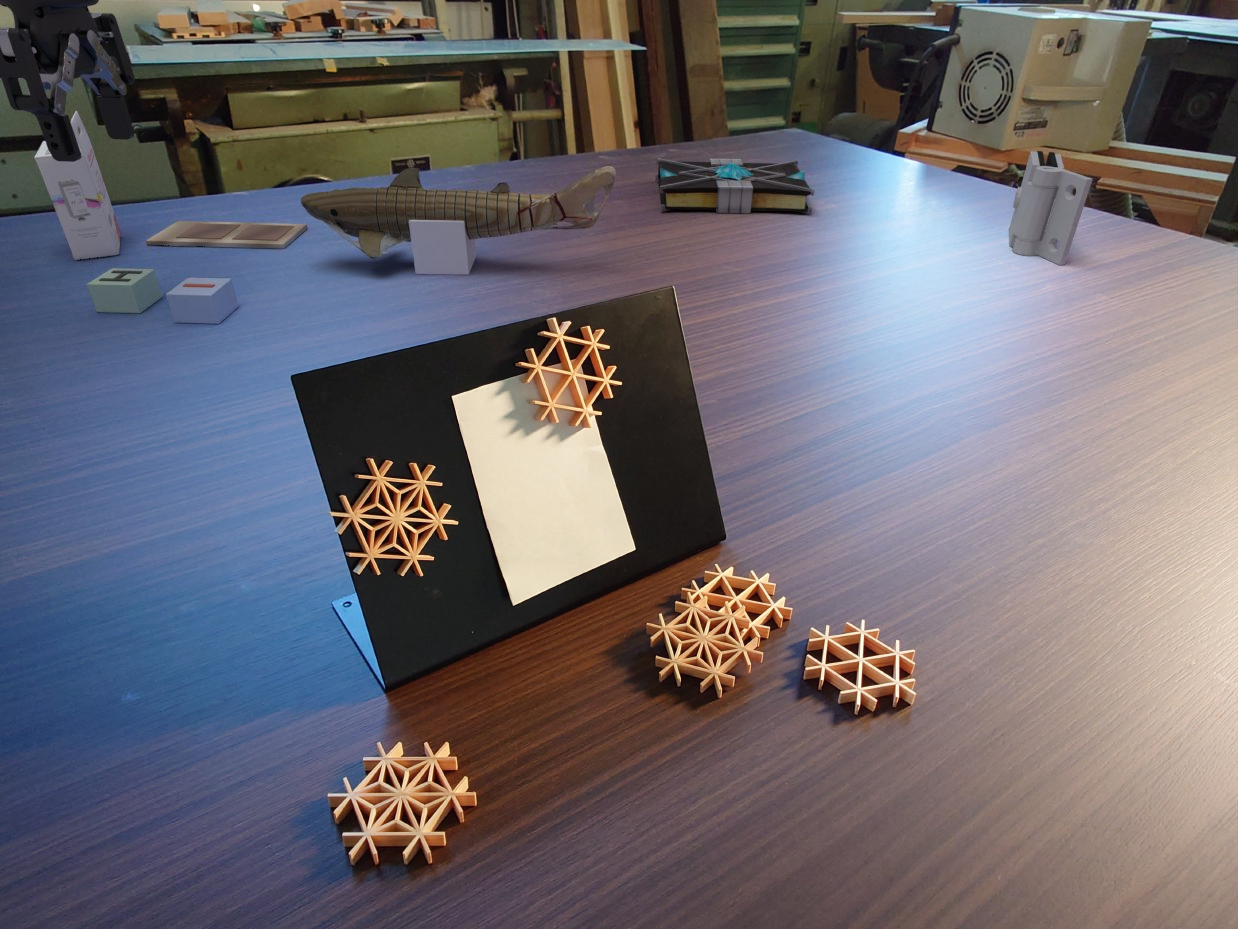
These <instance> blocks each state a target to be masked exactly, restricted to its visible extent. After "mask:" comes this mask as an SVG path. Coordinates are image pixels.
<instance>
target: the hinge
mask: <svg viewBox="0 0 1238 929" xmlns="http://www.w3.org/2000/svg"><path fill="white" fill-rule="evenodd" d="M1093 180H1094V179H1093V178H1091V177H1089V176H1085V175H1083V174H1079V173H1077V172H1074V171H1071V170H1067V169H1065V166H1064V162H1063V159H1062V155H1061V153H1055V152H1054V151H1049V152H1048V155H1047V157H1046V161H1045V155H1044V151H1043V150H1037V151H1030V153H1029V156H1028V160H1027V163H1026V167H1025V171H1024V174H1023V178H1022V181H1021V185H1020V186H1018V187H1017V189H1016V191H1015V195H1014V199H1013V204H1012V208H1013V209H1014V210H1013V213H1012V216H1011V220H1010V224H1009V227H1008V242H1009V245H1008V246H1009V248H1012V252H1013V253H1014V254H1017V255H1019V256H1028V257H1031V256H1038V257H1041V258H1043V259H1045V260H1048V261H1049V262H1052V263H1054V264H1056V265H1058V266H1065V265H1066V262H1067V259H1068V256H1069V254H1070V250H1071V247H1072V244H1073V241H1074V237H1075V236H1076V232H1077V228H1078V225H1079V223H1080V219H1081V216H1082V213H1083V210H1084V207H1085V205H1086V201H1087V198H1088V195H1089V193H1090V192H1089V191H1090V189H1091V186H1092V183H1093ZM1074 190H1075V193H1074V194H1073V192H1074ZM1057 243H1059V245H1058V247H1057Z"/></svg>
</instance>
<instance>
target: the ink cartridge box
mask: <svg viewBox="0 0 1238 929" xmlns="http://www.w3.org/2000/svg"><path fill="white" fill-rule="evenodd" d="M70 122H71V125H72V128H73V131H74V134H75V137H76V140H77V143H78V146H79V149H80V152H81V159H79V160H77V161H75V162H65V161H56V160H55V159H54V158H53V157H52V155H51V153H50V152H49V150H48V148H47V145H46V142H45V140H43V141H42V142H41V144H40V146H39V148H38V149H37V152H36V154H35V155H34V161H35V163H36V164H37V167H38V169H39V170H38V171H39V172H40V176H41V177H42V180H43V182H44V185H45V188H46V190H47V193H48V195H49V199H50V200H51V203H52V206H53V208H54V210H55V213H56V215H57V219H58V221H59V223H60V226H61V229H62V231H63V234H64V237H65V239H66V241H67V245H68V246H69V249H70V252H71V254H72V258H73V260H74V261H79V260H80V259H81V260H88V259H89V258H90V259H97V257H98V258H104V257H105V258H106V257H112V256H113V257H114V256H119V255H120V249H121V238H122V236H121V234H122V233H121V229H120V226H119V223H118V221H117V218H116V214H115V212H114V209H113V206H112V203H111V202H112V201H111V199H110V196H109V194H108V190H107V187H106V185H105V182H104V181H105V180H104V179H103V178H104V177H103V176H102V172H101V169H100V166H99V163H98V161H97V157H96V154H95V151H94V148H93V145H92V142H91V139H90V137H89V134H88V132H87V129H86V128H85V126H84V123H83V121H82V119H81V116H80V114H79V112H78V110H75V111H74V114H73V116H72V118H71V119H70ZM78 129H79V130H78ZM79 131H80V133H79ZM90 259H89V260H90ZM81 260H80V261H81Z"/></svg>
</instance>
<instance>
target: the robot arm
mask: <svg viewBox="0 0 1238 929" xmlns="http://www.w3.org/2000/svg"><path fill="white" fill-rule="evenodd" d="M99 1H100V0H0V6H1V7H5V8H8V9H9V10H10V11H11V12H12V16H13V23H14V27H5V26H1V27H0V78H1V82H2V85H3V88H4V90H5V93H6V96H7V100H8V103H9V105H10V107H11V109H13V110H15V111H23V112H28V113H30V114H32V115H33V116H34V117H35V118H36V120H37V123H38V125H39V127H40V131H41V134H42V136H43V138H44V141H45V142H46V145H47V148H48V150H49V152H50V153H51V155H52V157H53V158H54V159H55V160H56V161H65V162H75V161H77V160H79V159H81V152H80V149H79V146H78V143H77V140H76V137H75V134H74V131H73V128H72V125H71V118H70V117H69V114H65V113H66V105H67V93H68V92H69V91H71V90H72V89H73V88H74V82H75V81H74V80H75V79H79V78H82V79H83V80H85V82H87V84H88V85H89V86H90V88H91V89H92V90H93V91H94V93H95V94H97V95H98V96H96V97H95V99H96V101H97V105H98V107H99V111H100V114H101V117H102V121H103V123H104V127H105V130H106V133H107V136H108V137H109V138H110V139H112V140H127V141H128V140H130V139H133V138H134V137H135V131H134V128H133V123H132V120H131V116H130V114H129V110H128V107H127V103H126V99H125V96H126V95H127V93H128V88H127V87H128V85H132V86H133V85H134V84H135V82H136V77H135V74H134V71H133V68H132V64H131V61H130V59H129V54H128V51H127V48H126V46H125V42H124V40H123V36H122V33H121V30H120V26H119V24H118V20H117V18H116V16H115V14H113V13H112V12H90V9H89V7H93V6H95V5H97V4H98V3H99ZM112 57H113V58H115V60H116V61H117V65H118V68H119V69H117V65H116V63H115V62H114V61H113V59H112ZM41 71H43V72H44V73H41ZM19 79H23V81H24V82H25V83H26V86H27V90H26V92H27V93H26V94H23V90H22V88H21V84H20V82H19ZM47 90H50V93H49V95H50V96H49V97H48V96H47V93H46V91H47Z"/></svg>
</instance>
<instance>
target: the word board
mask: <svg viewBox="0 0 1238 929" xmlns="http://www.w3.org/2000/svg"><path fill="white" fill-rule="evenodd" d="M308 228H309V227H308V224H307V223H279V222H242V221H241V222H239V221H235V222H234V221H201V220H199V221H198V220H196V221H195V220H177V221H175V222H174V223H172V224H170V225H169V226H167V227H165V228H163V229H162V230H160V231H159V232H157V233H156V234H154V235H152V236H150V237H149V238H147V239H146V240H145V243H146V244H145V245H146V246H156V245H164V246H163V247H196V246H203V248H237V249H238V248H239V249H240V248H242V249H278V250H279V249H281V250H284V249H285V248H287V247H288V246H289V245H290V244H292V243H293V242H294V241H295V240H296V239H297V238H299V237H300V236H301V235H302V234H303V233H304V232H305V231H307V230H308ZM165 245H166V246H165ZM168 245H169V246H168ZM204 246H205V247H204Z"/></svg>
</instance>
